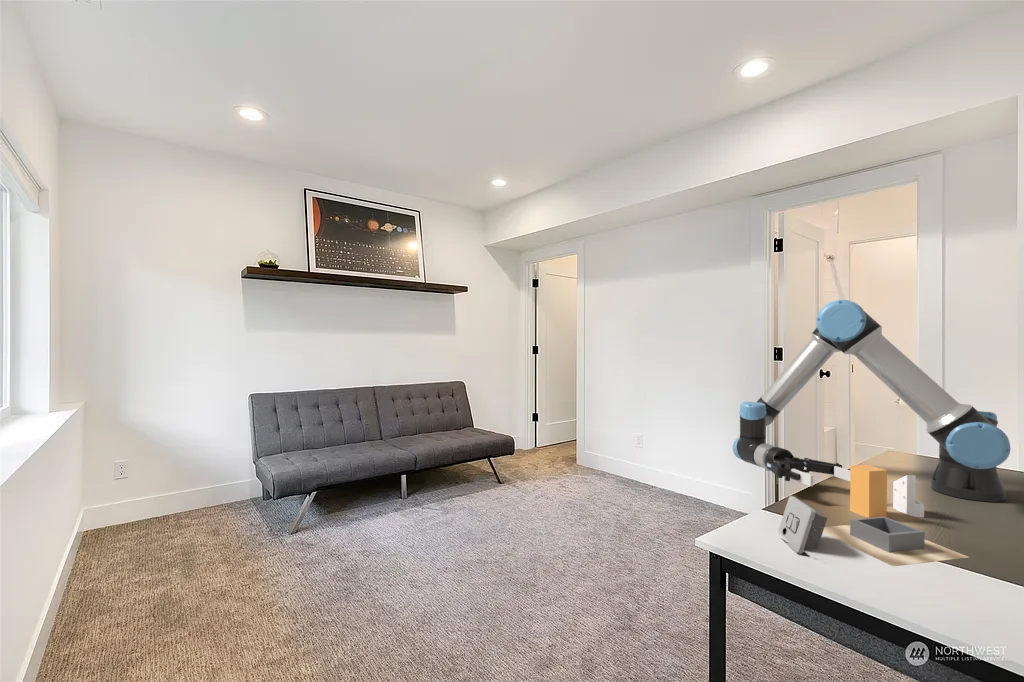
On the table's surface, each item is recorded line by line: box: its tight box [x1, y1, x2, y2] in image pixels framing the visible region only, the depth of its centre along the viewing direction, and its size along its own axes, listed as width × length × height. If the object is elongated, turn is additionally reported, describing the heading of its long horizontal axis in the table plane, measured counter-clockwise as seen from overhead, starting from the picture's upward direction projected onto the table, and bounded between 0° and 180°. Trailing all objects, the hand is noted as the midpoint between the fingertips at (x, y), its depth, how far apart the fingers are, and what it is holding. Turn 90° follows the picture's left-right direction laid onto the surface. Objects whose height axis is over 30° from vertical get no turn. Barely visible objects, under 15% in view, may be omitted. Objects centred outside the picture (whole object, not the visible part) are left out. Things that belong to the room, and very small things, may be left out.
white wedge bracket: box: [892, 474, 925, 518], centre depth 119 cm, size 4×10×9 cm, turn 168°
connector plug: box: [849, 464, 888, 518], centre depth 116 cm, size 5×5×12 cm
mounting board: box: [822, 524, 970, 567], centre depth 100 cm, size 18×18×1 cm
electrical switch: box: [777, 495, 828, 555], centre depth 100 cm, size 9×5×9 cm, turn 175°
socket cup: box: [849, 516, 926, 553], centre depth 100 cm, size 9×9×3 cm
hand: (834, 479), depth 125 cm, fingers open, 13 cm apart
